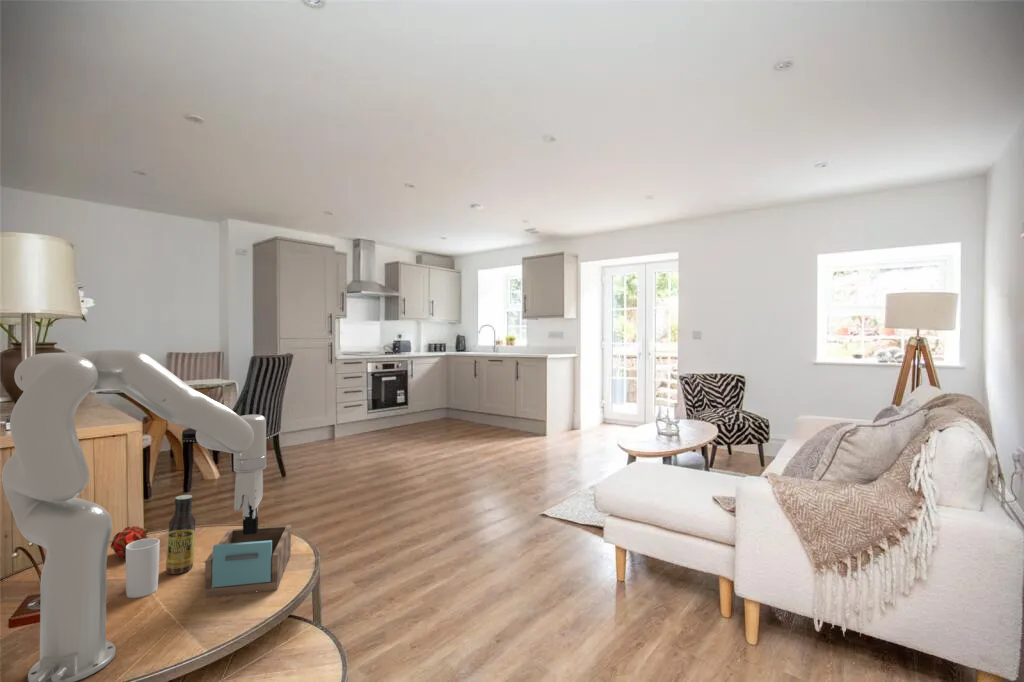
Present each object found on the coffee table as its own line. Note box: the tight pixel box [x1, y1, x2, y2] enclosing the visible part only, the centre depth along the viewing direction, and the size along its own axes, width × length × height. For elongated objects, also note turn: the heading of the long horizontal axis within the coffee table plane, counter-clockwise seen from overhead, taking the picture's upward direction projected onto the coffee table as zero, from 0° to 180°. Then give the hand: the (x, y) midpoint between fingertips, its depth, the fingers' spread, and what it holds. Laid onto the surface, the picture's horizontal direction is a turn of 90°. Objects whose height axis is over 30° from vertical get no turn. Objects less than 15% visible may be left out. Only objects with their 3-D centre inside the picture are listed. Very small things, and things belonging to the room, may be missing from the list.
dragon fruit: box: [110, 525, 150, 561], centre depth 143 cm, size 8×8×12 cm
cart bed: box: [204, 524, 292, 598], centre depth 133 cm, size 20×16×9 cm
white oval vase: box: [125, 537, 160, 599], centre depth 125 cm, size 10×7×12 cm, turn 24°
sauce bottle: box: [165, 494, 197, 575], centre depth 135 cm, size 7×6×20 cm
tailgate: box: [212, 540, 272, 587], centre depth 123 cm, size 2×13×10 cm, turn 105°
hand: (250, 532), depth 130 cm, fingers closed
